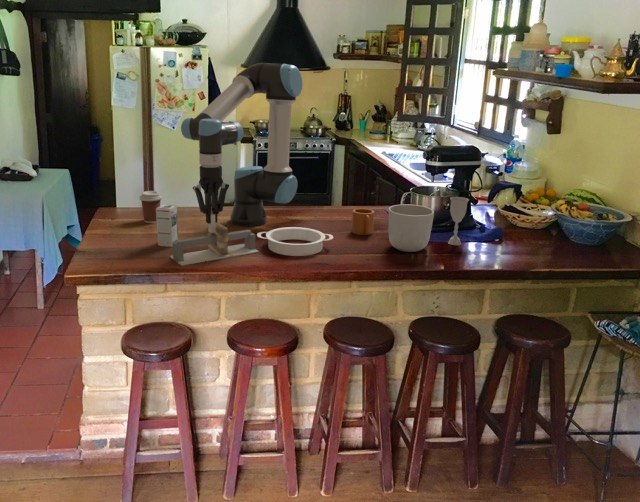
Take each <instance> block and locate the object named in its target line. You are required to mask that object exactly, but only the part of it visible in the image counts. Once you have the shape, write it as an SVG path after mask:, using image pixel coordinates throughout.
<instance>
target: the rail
mask: <svg viewBox="0 0 640 502" xmlns="http://www.w3.org/2000/svg"><path fill="white" fill-rule="evenodd" d="M241 239H244V243H239V244H234V245H228V254H226V255H221V256H220V255H219V254H217V253H215V252H214V251H212V250H211V249H209V248H208V249H204V250H199V251H192V252H185V253H184V248H190V247H196V246H197V247H198V246H203V245H208V244H210V243H216V242H217V234H216V235H210V236H208V235H204V236H199V237H191V238H184V239H178V240H177V243H173V247H172V255H170V256H169V258H171V259H172V260H173V261H174V262H176V263H177V264H179V266H181V267H183V266H188V265H194V264H201V263H205V261H206V262H210V261H216V260H222V259H228V258H232V257H239V256H245V255H246V256H247V255H251V254H256V253H259V252H260V251H259V250H258V249H256V234H255V233H253V232H252V230H251V229H243V230H238V231H237V230H236V231H231V232H229V231H228V242H229V241H234V240H241Z"/></svg>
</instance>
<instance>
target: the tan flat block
mask: <svg viewBox="0 0 640 502" xmlns="http://www.w3.org/2000/svg"><path fill="white" fill-rule="evenodd" d="M228 229H229V228H228V227H227V226H225V225H223V224H221V223H219V222H218V221H217V222H216V223H215V232H214V233H211V232H209V231H208V230H207V236H210V235H216V234H217V242H216V243H210V244H207V246H208V250H209V249H211V250H212V251H214V252H215V253H217V254H219V255H220V256H221V255H226V254H228V246H229V241H228V233H229V230H228Z"/></svg>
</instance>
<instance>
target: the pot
mask: <svg viewBox="0 0 640 502" xmlns="http://www.w3.org/2000/svg"><path fill="white" fill-rule="evenodd" d="M262 234H265V237H263V236H262ZM256 236H257V238H261V239H266V240H267V241H268V247H267V248H268V249H269V250H270V251H271V252H273V253H275V254H278V255H282V256H283V255H284V256H293V257H301V256H302V257H303V256H304V257H305V256H312V255H315V254H318V253H320V252H322V250H323V242H324V241H331V240H333V239H334V235H332V234H330V233H329V234H328V233H323V232H321V231H319V230H317V229H313V228H308V227H302V226H301V227H299V226H289V227H288V226H287V227H278V228H273V229H271V230H269V231H260V232H257V234H256ZM326 236H328V237H329V238H327V239H326ZM285 240H286V241H287V240H298V241H299V240H301V241H307V243H289V242H288V243H287V242H283V241H285Z"/></svg>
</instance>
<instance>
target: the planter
mask: <svg viewBox="0 0 640 502" xmlns="http://www.w3.org/2000/svg"><path fill="white" fill-rule="evenodd" d="M434 217H435V211H434V210H433V209H432V208H431V207H428V206H424V205H417V204H407V203H406V204H403V203H402V204H394V205H391V206H389V207H388V230H387V231H388V239H389V240H388V241H389V243H390V244H391V246H392V247H393V248H395V249H396V250H398V251H401V252H407V253H413V252H415V253H416V252H419V251H422V250H423V249H425V247H427V245H428V243H429V241H430V238H431V233H432V232H431V231H432V227H433V221H434Z"/></svg>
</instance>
